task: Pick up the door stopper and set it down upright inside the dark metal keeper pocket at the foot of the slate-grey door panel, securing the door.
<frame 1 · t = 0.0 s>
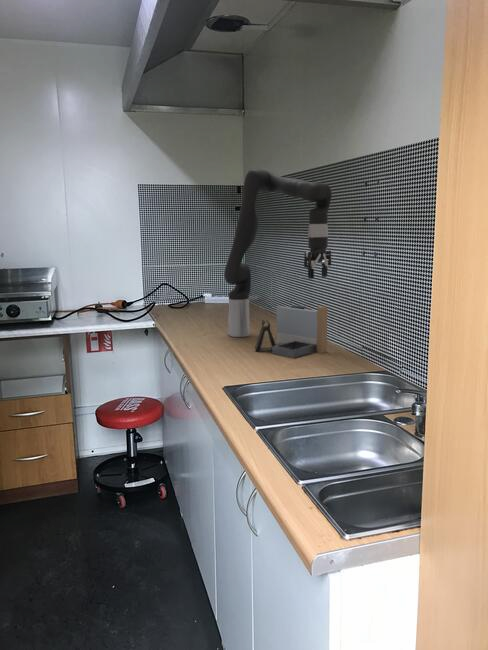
hand: (317, 277, 208), 29 cm above the table, fingers open, 8 cm apart
cup: (296, 340, 232), on the table
door: (298, 347, 219), on the table
door stopper: (266, 350, 216), on the table
keeper: (294, 352, 210), on the table
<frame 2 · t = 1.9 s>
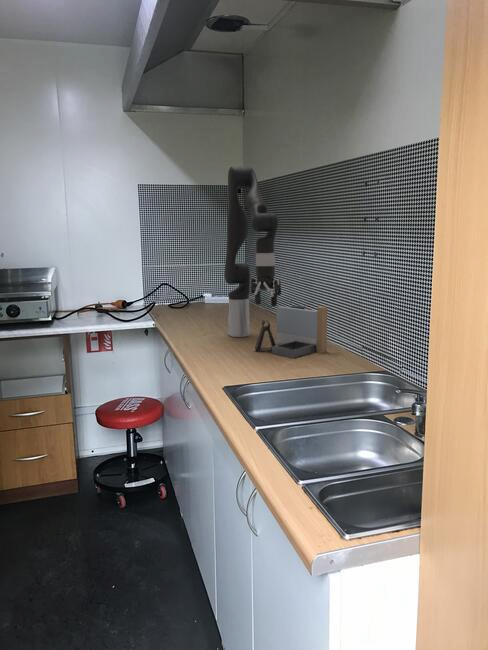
hand: (265, 305, 212), 18 cm above the table, fingers open, 8 cm apart
nothing on the table moved.
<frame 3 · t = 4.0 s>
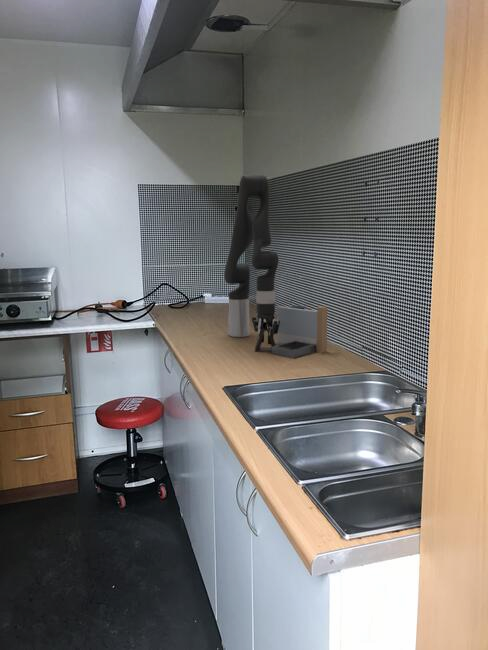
hand: (266, 343, 215), 3 cm above the table, fingers closed on door stopper, 4 cm apart
door stopper: (266, 350, 216), on the table, touching gripper
everything else where it was.
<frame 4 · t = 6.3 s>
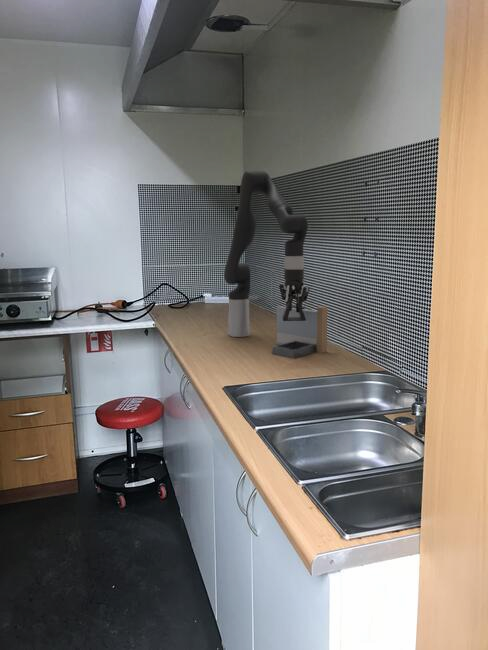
hand: (294, 311, 207), 17 cm above the table, fingers closed on door stopper, 4 cm apart
door stopper: (294, 320, 207), point 13 cm above the table, touching gripper
everything else where it was.
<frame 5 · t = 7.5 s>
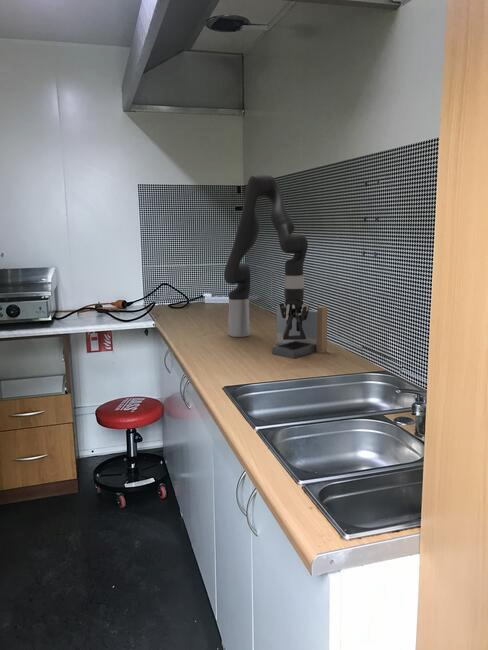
hand: (294, 329, 208), 9 cm above the table, fingers closed on door stopper, 4 cm apart
door stopper: (294, 338, 209), point 6 cm above the table, touching gripper
everything else where it was.
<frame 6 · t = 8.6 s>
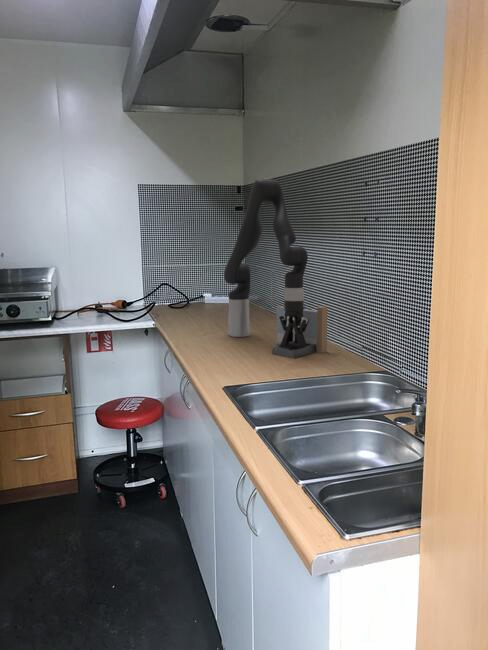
hand: (293, 342, 209), 4 cm above the table
door stopper: (293, 345, 209), point 3 cm above the table, touching gripper
everything else where it was.
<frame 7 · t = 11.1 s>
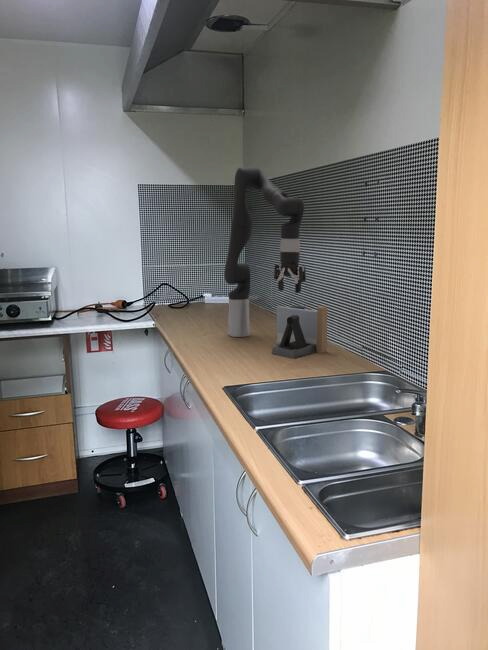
hand: (289, 291, 209), 24 cm above the table, fingers open, 8 cm apart
door stopper: (293, 346, 209), point 3 cm above the table, touching keeper
everything else where it was.
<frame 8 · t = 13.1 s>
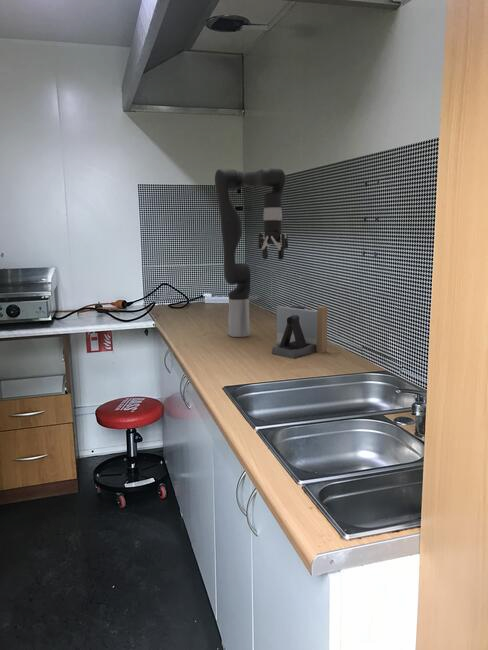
hand: (273, 259, 218), 36 cm above the table, fingers open, 8 cm apart
nothing on the table moved.
at the end: door stopper inside the target area on the keeper (0.8 cm from its centre), point 2.8 cm above the keeper's base; door stopper tilted 0°; the gripper is holding nothing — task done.
